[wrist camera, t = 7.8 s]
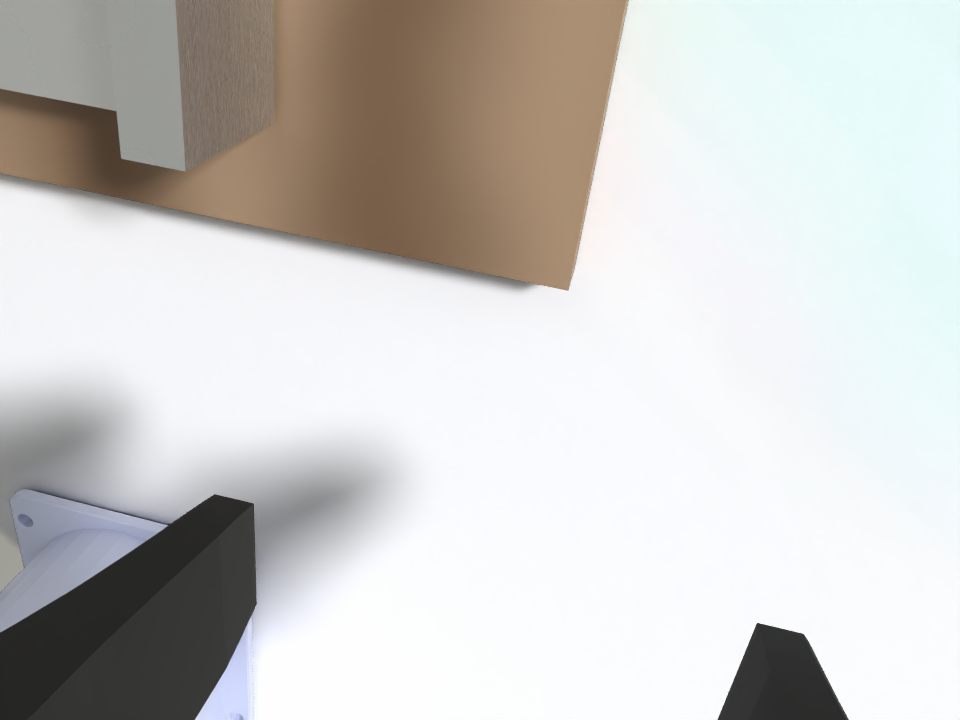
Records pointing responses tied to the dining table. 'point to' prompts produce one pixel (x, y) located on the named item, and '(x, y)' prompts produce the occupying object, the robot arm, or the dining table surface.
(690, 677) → the dining table surface
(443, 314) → the dining table surface
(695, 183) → the dining table surface
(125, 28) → the brushed steel block
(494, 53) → the gauge frame
